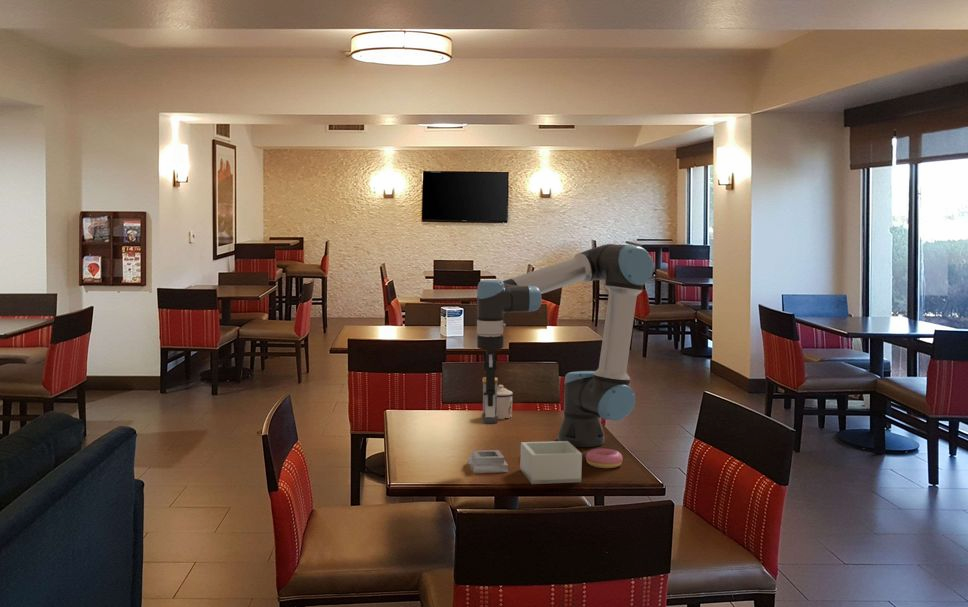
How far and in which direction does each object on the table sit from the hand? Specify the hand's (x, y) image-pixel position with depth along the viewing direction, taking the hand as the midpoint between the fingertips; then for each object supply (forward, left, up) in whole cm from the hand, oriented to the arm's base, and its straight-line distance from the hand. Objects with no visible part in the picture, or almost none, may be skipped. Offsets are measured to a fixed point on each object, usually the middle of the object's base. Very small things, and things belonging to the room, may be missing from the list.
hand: (489, 414), depth 259 cm
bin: (-16, +10, -16) cm, 24 cm away
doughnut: (-35, 0, -16) cm, 38 cm away
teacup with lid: (-17, -65, -16) cm, 69 cm away
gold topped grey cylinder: (0, 0, -2) cm, 2 cm away
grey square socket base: (0, 0, -16) cm, 16 cm away
